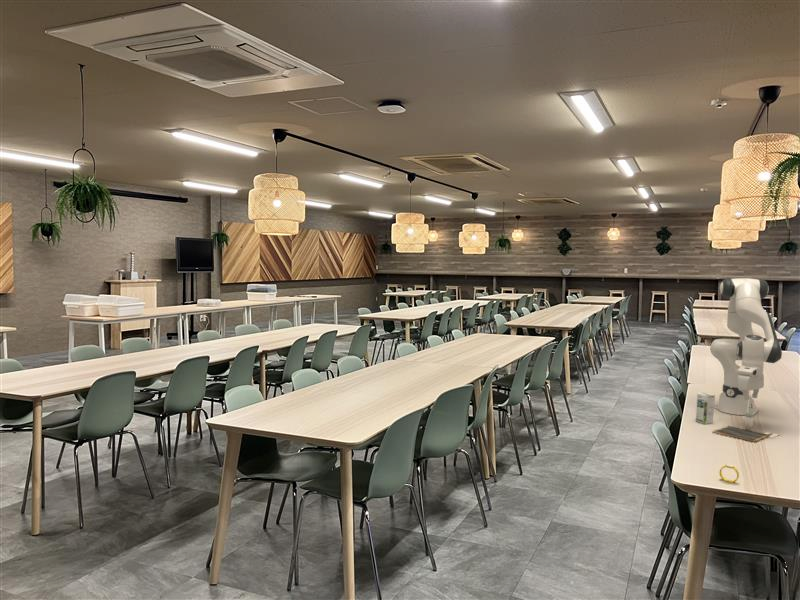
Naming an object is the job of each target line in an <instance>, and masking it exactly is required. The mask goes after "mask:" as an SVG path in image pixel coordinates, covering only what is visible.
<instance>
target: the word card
mask: <svg viewBox="0 0 800 600" xmlns="http://www.w3.org/2000/svg"><path fill="white" fill-rule="evenodd" d="M763 433H764V434H768V435H770V436H769V437H770V439H773V437H774V438H777V437H779V436H778V435H779V433H778V434H777V433H772V432H768V431H766V432H763ZM769 437H768V438H769Z"/></svg>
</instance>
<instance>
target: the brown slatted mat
mask: <svg viewBox="0 0 800 600" xmlns="http://www.w3.org/2000/svg"><path fill="white" fill-rule="evenodd" d="M714 433H716V434H715V435H719V434H720V435H719V436H723V435H724V436H723V437H727V436H729V437H728V438H731V437H733V438H732V439H736V438H737V439H736V440H740V439H742V440H741V441H744V440H745V442H748V441H750V442H749V443H753V442H754V444H755V442H756V443H758V442H761V441H764V440H765V438H766V439H769V436H770V435H768V434H764V433H765V432H759V431H754V430H752V431H750V430H746V429H745V428H741V427H738V426H737V427H736V426H732V425H727V426H724V427H721V428H718V429H715V430H713V431H712V434H714ZM760 440H761V441H760Z"/></svg>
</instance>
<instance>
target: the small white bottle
mask: <svg viewBox="0 0 800 600" xmlns="http://www.w3.org/2000/svg"><path fill="white" fill-rule="evenodd" d="M754 416H755V415H754V414H750V413H745V415H744V418H745V419H744V429H746V430H750V431H753V430H754V429H753V426H754Z"/></svg>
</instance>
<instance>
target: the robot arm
mask: <svg viewBox="0 0 800 600" xmlns="http://www.w3.org/2000/svg"><path fill="white" fill-rule="evenodd" d="M769 289H770V288H769V284H768V281H766V280H765V279H761V278H747V277H744V278H742V277H741V278H737V277H736V278H732V277H731V278H724V279H723V280H721V282H720V285H719V292H720V295H721V296H722V297H723V298H724V299H729V302H728V306H727V319H726V321H727V322H726V327H727V329H729V331H731V332H733V333H734V334H737V335H738V336H739V339H737V338H718V339H717V338H716V339H714V340H713V341H711V344H710V345H709V347H710V349H709V350H710V353H711V355H712V356H713V357H714V358H715V359H717V360H718V362H719V363H720V364H721V366H722V369H723V385H722V387H721V388H722V392H721V393H719V398H718V405H715V410H718V411H720V412H721V413H726V414H729V415H736V416H737V415H738V416H745V413H750V414H754V416H755V415H756V414H757V413H758V412H759V409H758V408H755V407H754V406H755V405H754V404H755V403H754V402H755V401H754V399H757V398H758V394H759V392H760V389H762V388H764V385H765V376H764V365H765V364H764V363H769V364H775V363H777V362H778V361H780V360H781V359H782V355H783V351H782V348H781V345H780V342H779V339H778V336H777V333H776V329H775V325H774V321H773V320H772V317H771V315H770V312H768V311H766V310H765V309H764V308H763V306H762V305H763V304H762V300H763V299H765V298H767V296H768V294H769ZM752 323H753V324H756V325H758V326H760V327H761V329H762V330H763V332H764V335H765V340H766V341H765V340H764V337H763V336H761V335H756V334H755V333H754V332H753V327H752ZM736 361H741V365H738V364H737V363H736ZM750 391H753V392H752V394H751V395H750Z"/></svg>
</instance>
